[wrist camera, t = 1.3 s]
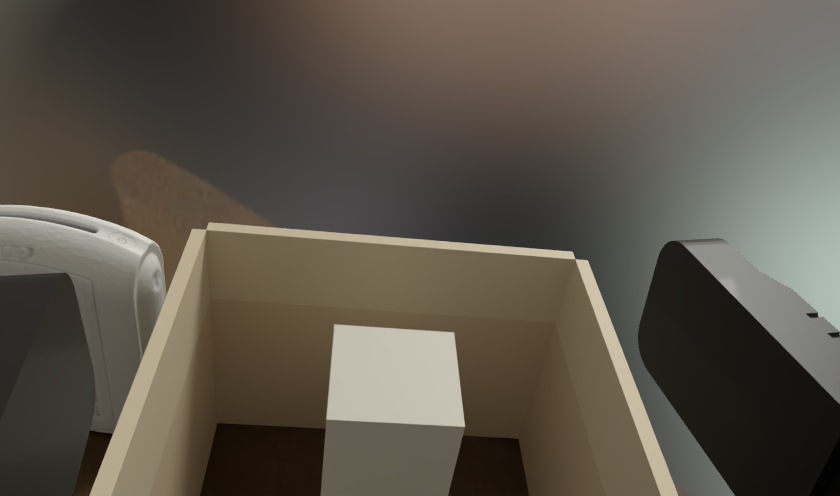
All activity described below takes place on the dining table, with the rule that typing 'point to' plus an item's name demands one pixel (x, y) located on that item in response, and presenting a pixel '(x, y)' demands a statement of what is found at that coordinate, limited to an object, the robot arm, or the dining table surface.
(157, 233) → the dining table surface
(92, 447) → the dining table surface
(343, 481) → the box
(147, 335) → the photo printer
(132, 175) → the dining table surface
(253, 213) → the dining table surface
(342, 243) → the storage bin
